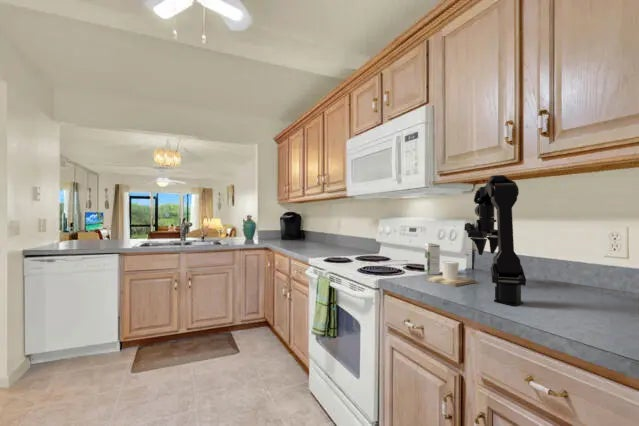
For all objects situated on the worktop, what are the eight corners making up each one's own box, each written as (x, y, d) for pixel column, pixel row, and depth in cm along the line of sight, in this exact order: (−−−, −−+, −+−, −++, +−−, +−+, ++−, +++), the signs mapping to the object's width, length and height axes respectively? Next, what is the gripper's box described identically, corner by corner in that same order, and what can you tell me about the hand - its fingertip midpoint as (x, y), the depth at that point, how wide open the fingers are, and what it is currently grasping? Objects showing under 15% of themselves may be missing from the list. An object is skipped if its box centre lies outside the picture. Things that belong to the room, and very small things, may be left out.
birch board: (475, 282, 133) (475, 279, 133) (455, 286, 125) (455, 283, 125) (445, 276, 145) (445, 274, 145) (426, 280, 137) (426, 277, 137)
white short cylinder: (456, 281, 130) (456, 264, 130) (439, 278, 134) (439, 262, 134) (460, 278, 136) (460, 262, 136) (444, 276, 140) (444, 260, 140)
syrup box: (424, 272, 156) (424, 243, 156) (436, 272, 156) (436, 243, 156) (427, 274, 151) (427, 244, 151) (440, 274, 150) (440, 244, 150)
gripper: (480, 217, 145) (480, 250, 145) (456, 217, 134) (456, 253, 134) (505, 217, 135) (505, 253, 135) (481, 217, 125) (481, 256, 125)
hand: (486, 254), depth 133 cm, fingers open, 9 cm apart
